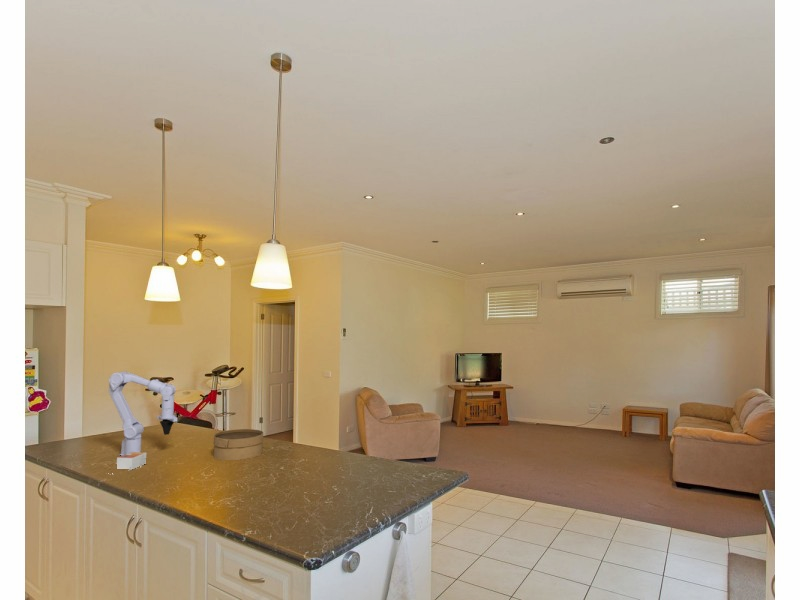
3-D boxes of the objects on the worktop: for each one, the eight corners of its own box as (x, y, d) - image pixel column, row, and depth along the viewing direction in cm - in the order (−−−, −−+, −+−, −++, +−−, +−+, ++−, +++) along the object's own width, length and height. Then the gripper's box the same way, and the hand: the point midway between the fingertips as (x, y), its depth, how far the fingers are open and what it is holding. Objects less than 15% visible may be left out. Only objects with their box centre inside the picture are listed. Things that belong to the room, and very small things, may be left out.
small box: (147, 452, 229) (132, 457, 219) (146, 464, 229) (132, 470, 219) (131, 451, 230) (116, 457, 220) (130, 463, 230) (116, 469, 219)
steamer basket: (228, 464, 230) (229, 440, 231) (204, 455, 247) (204, 433, 248) (272, 454, 249) (272, 433, 250) (246, 447, 265) (247, 427, 266)
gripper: (183, 408, 249) (182, 434, 248) (166, 406, 256) (165, 431, 255) (170, 410, 242) (169, 437, 241) (154, 407, 250) (152, 433, 249)
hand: (166, 434), depth 248 cm, fingers closed
